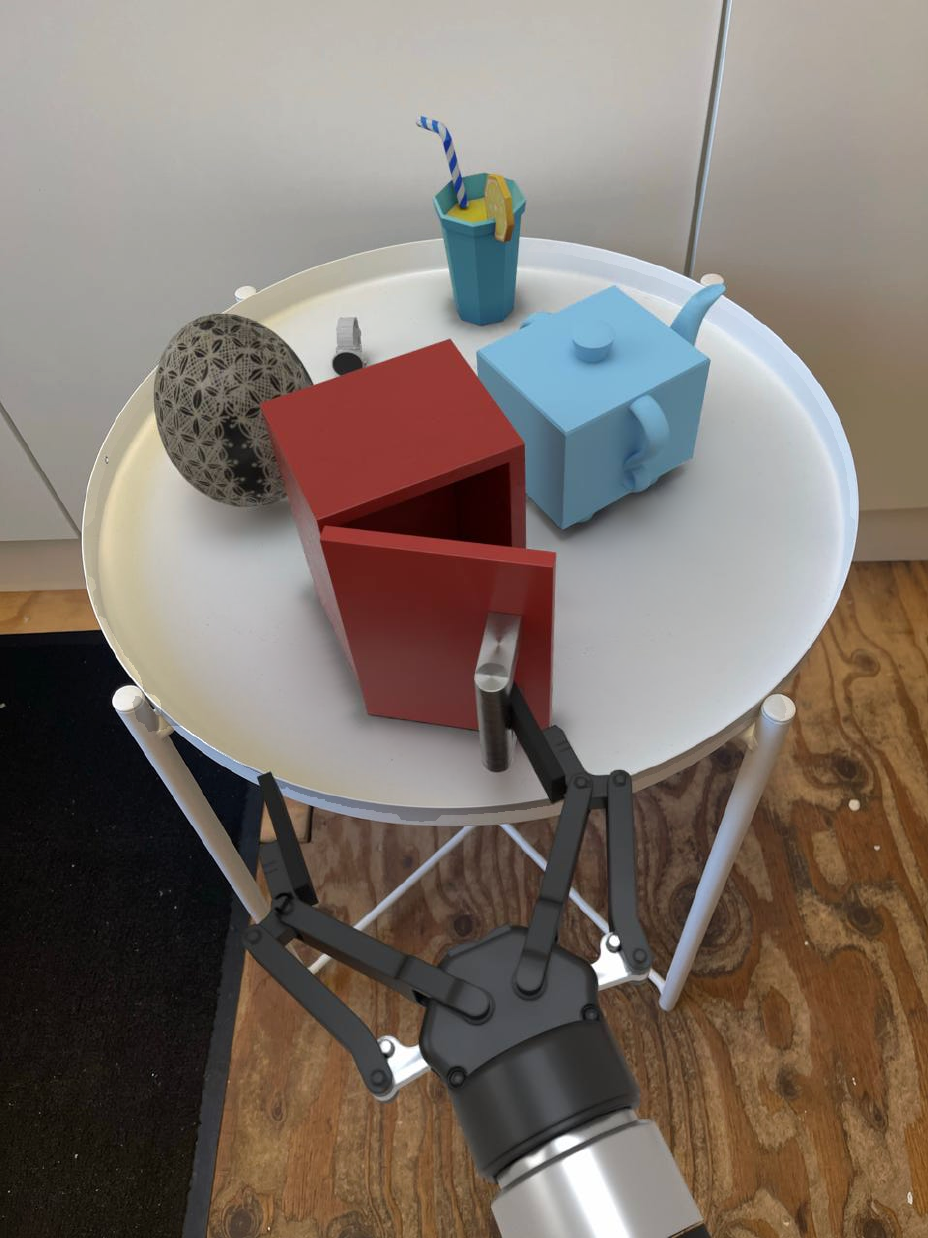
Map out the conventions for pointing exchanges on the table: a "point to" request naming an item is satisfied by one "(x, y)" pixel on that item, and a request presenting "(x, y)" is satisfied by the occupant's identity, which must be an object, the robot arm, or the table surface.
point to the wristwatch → (348, 347)
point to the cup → (479, 236)
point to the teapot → (600, 397)
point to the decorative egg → (225, 406)
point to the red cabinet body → (399, 458)
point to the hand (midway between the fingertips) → (390, 736)
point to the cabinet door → (447, 629)
